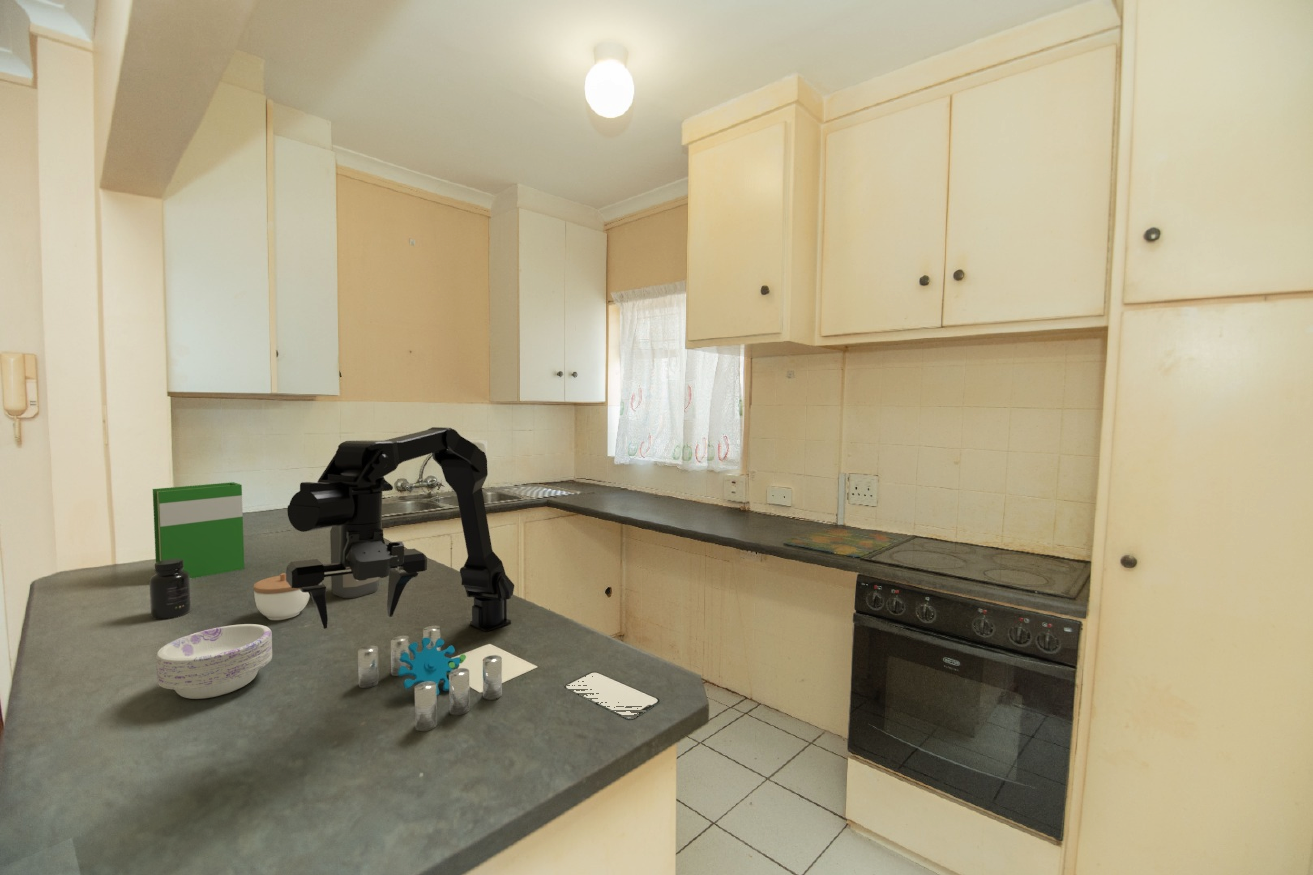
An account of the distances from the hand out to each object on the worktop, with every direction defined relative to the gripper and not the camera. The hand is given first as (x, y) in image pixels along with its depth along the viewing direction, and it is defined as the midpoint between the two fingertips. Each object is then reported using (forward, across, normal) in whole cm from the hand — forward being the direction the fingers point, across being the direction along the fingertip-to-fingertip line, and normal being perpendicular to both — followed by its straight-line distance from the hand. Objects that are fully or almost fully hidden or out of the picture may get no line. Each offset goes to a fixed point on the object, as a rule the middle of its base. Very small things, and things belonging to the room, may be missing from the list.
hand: (358, 621), depth 87 cm
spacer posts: (+13, +11, -1) cm, 17 cm away
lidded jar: (+12, -2, +53) cm, 54 cm away
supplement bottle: (+13, -21, +69) cm, 73 cm away
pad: (+13, +22, +1) cm, 25 cm away
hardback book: (+12, -15, +102) cm, 104 cm away
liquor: (+12, +14, +60) cm, 62 cm away
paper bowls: (+14, -16, +23) cm, 31 cm away
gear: (+13, +12, -1) cm, 18 cm away
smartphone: (+13, +33, -21) cm, 42 cm away
